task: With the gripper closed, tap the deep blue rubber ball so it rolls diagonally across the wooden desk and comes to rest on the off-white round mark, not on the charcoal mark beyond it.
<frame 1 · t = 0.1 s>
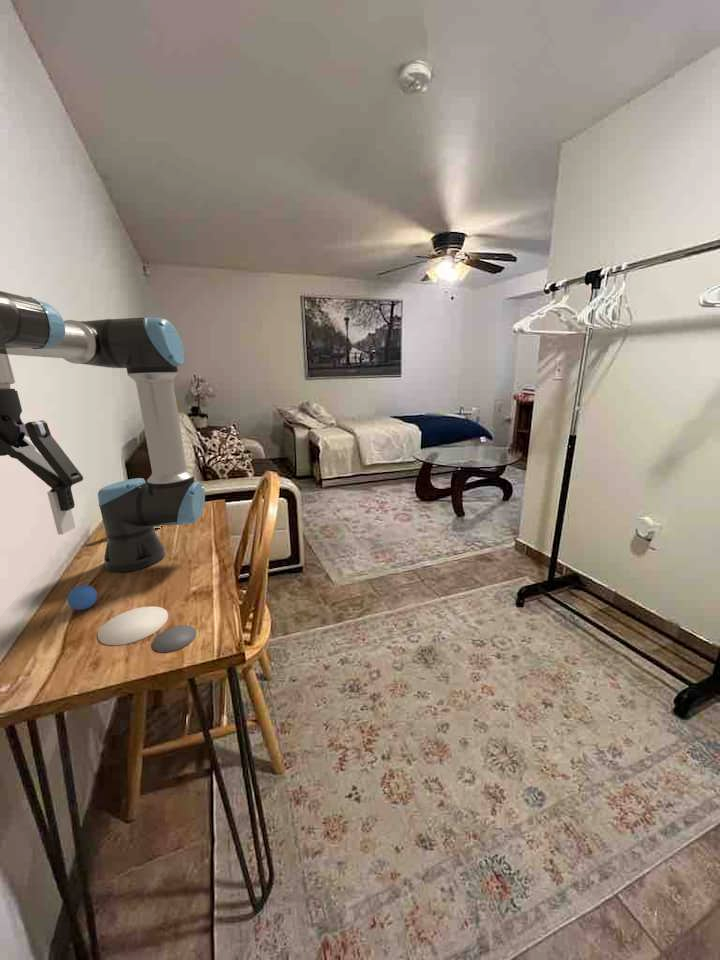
hand: (20, 533, 59), 28 cm above the table, tool pointing down, fingers open, 13 cm apart
ball: (82, 597, 89), on the table
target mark: (134, 624, 82), on the table
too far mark: (174, 638, 77), on the table
supplement box: (154, 526, 140), on the table
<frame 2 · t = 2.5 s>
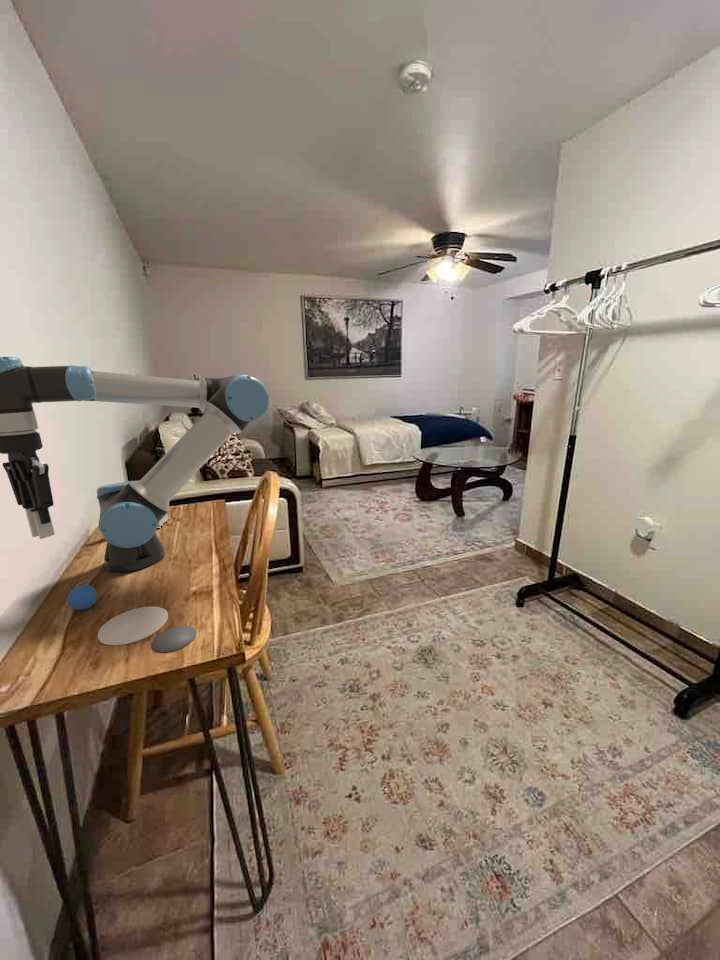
hand: (43, 535, 89), 16 cm above the table, tool pointing down, fingers open, 2 cm apart
nothing on the table moved.
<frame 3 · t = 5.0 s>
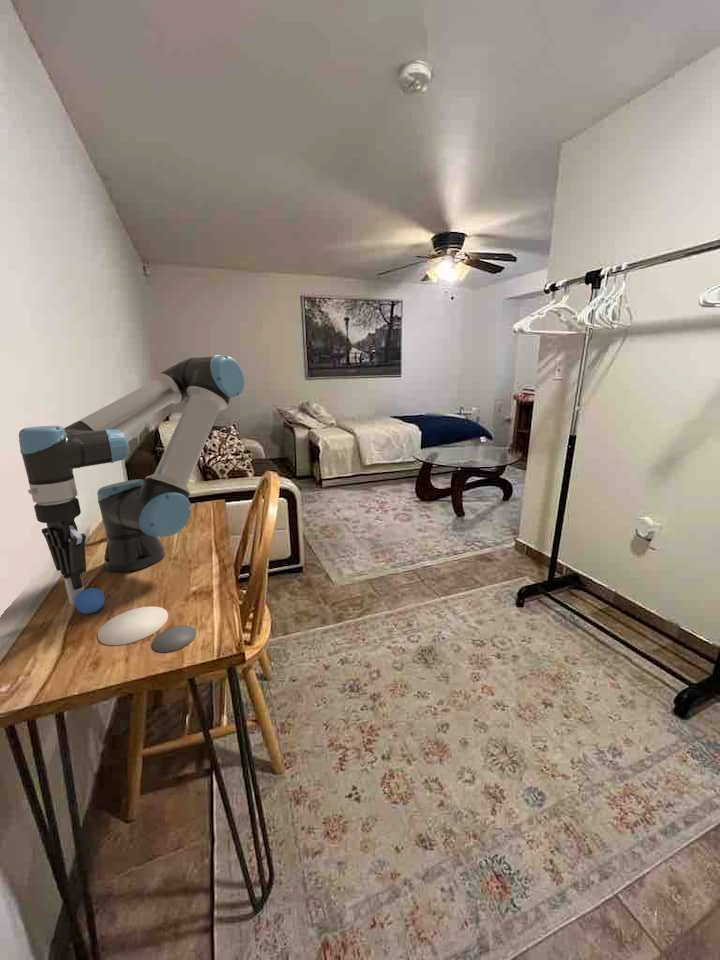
hand: (77, 600, 88), 2 cm above the table, tool pointing down, fingers closed
ball: (90, 600, 87), on the table, touching gripper
everything else where it was.
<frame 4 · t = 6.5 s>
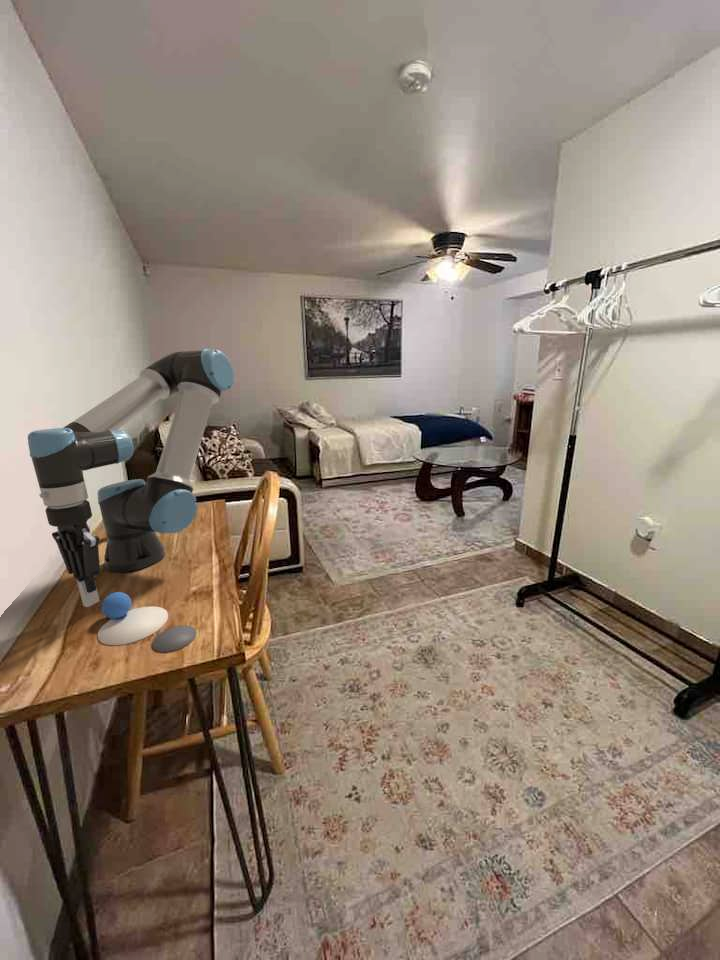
hand: (91, 603, 88), 2 cm above the table, tool pointing down, fingers closed
ball: (116, 605, 85), on the table
everything else where it was.
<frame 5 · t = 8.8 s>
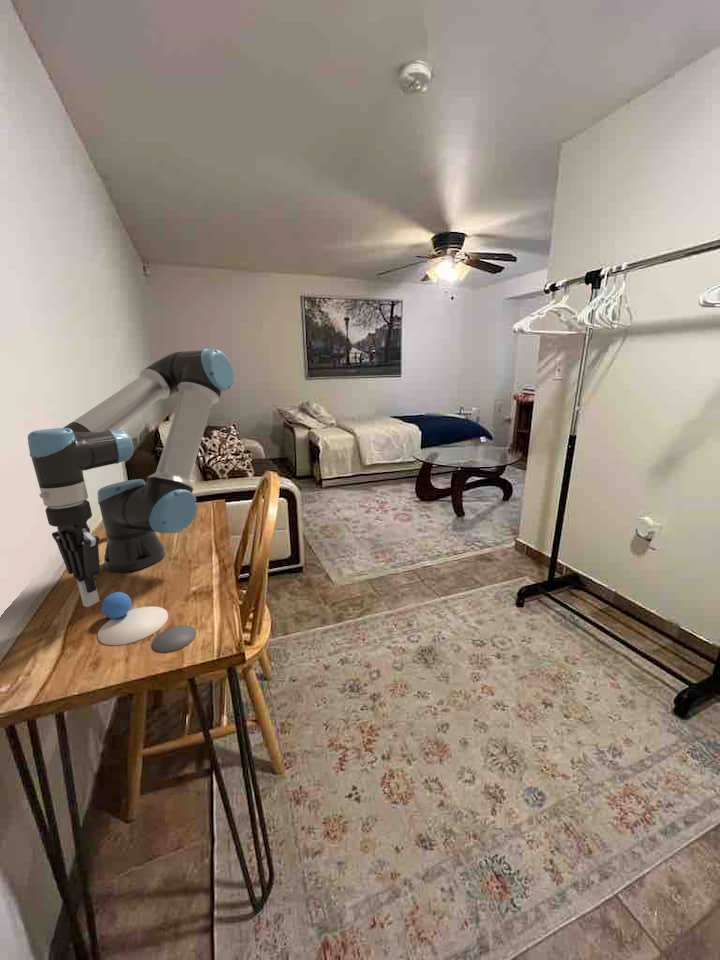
hand: (91, 603, 88), 2 cm above the table, tool pointing down, fingers closed
nothing on the table moved.
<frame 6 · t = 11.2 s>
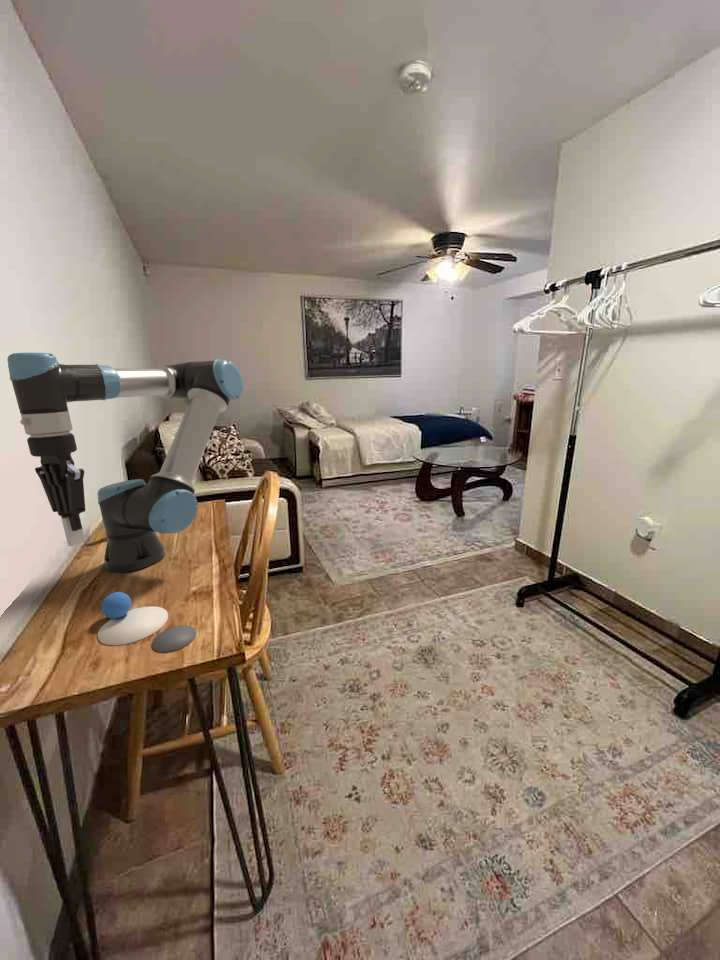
hand: (76, 543, 84), 16 cm above the table, tool pointing down, fingers closed
nothing on the table moved.
at the end: ball 6.2 cm from the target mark (horizontally); ball at rest at the end (0.0 cm/s); ball moved 10.9 cm from its start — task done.
